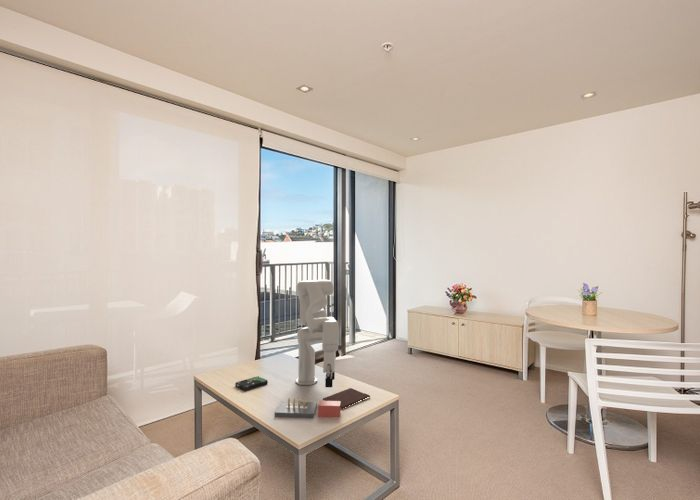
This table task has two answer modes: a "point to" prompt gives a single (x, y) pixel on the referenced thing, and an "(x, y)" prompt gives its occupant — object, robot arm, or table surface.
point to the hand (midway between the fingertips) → (330, 383)
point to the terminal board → (296, 409)
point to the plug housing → (329, 408)
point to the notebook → (347, 397)
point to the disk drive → (251, 383)
